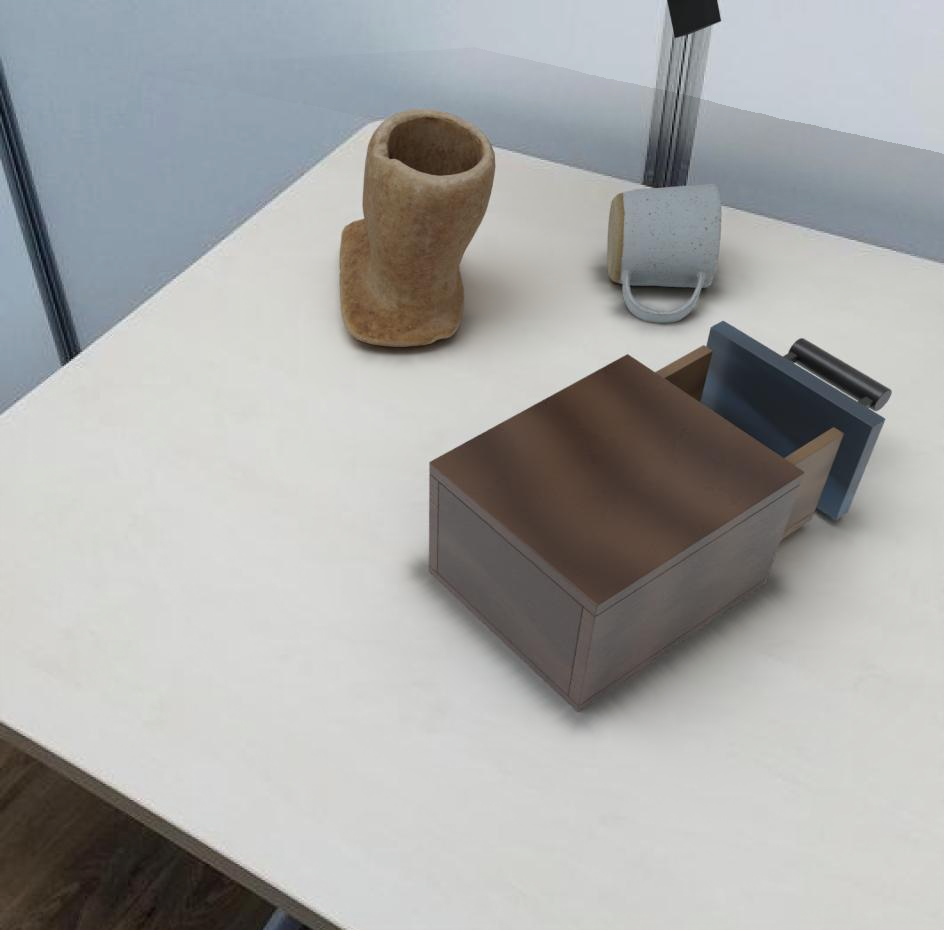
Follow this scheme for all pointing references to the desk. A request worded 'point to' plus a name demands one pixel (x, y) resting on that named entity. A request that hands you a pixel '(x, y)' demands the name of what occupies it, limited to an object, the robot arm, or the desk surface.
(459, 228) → the stone cup
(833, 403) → the drawer
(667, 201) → the ceramic mug
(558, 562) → the cabinet
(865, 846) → the desk surface
